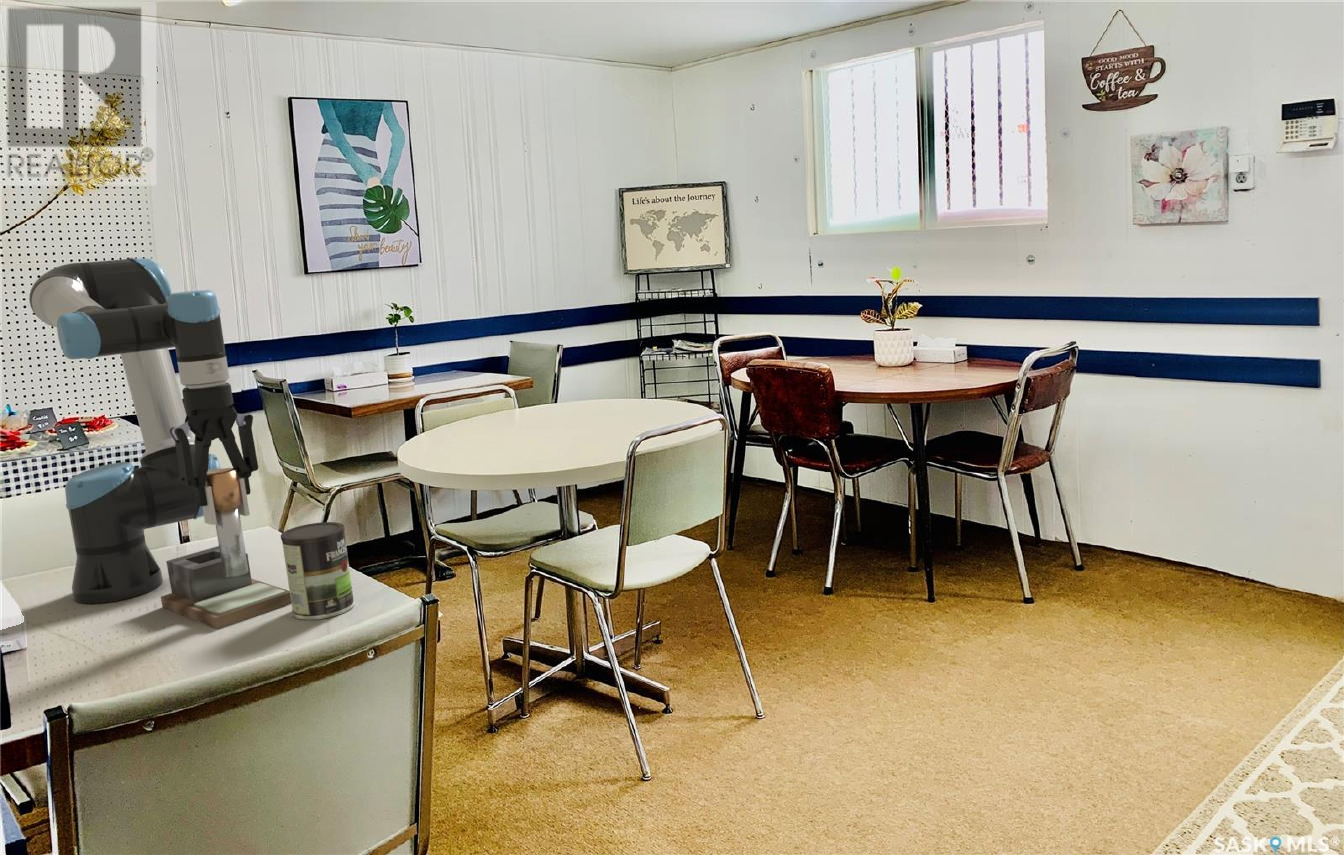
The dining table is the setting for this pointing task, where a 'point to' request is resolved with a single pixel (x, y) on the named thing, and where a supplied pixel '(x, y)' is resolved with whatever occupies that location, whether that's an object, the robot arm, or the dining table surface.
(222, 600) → the board
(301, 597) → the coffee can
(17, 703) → the dining table surface
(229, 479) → the peg
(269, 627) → the dining table surface
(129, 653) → the dining table surface
